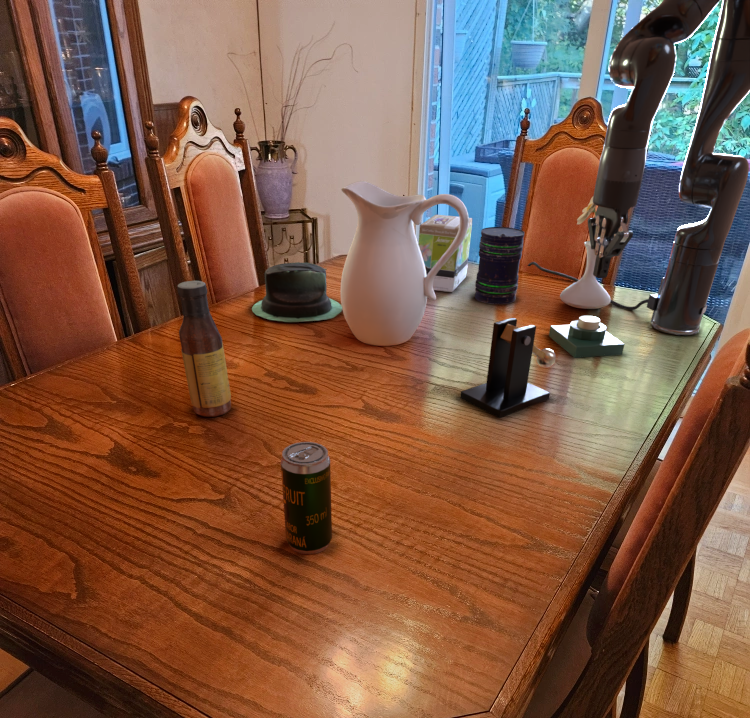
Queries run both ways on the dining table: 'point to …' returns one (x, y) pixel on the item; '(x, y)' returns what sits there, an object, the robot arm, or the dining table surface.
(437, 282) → the tea box
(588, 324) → the button
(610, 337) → the switch block
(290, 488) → the green drink can
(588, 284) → the flower in vase
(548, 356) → the lever
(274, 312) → the fedora hat
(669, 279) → the robot arm
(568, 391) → the dining table surface
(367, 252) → the pitcher
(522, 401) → the bracket
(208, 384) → the sauce bottle
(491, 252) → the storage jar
